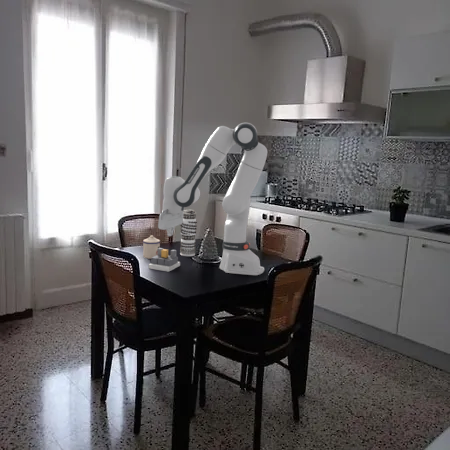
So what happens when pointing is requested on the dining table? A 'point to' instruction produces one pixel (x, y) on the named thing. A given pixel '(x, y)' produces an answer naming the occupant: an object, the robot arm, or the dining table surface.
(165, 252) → the breaker handle
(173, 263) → the slab with raised knobs
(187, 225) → the decorative candle
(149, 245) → the teacup with lid
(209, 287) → the dining table surface
